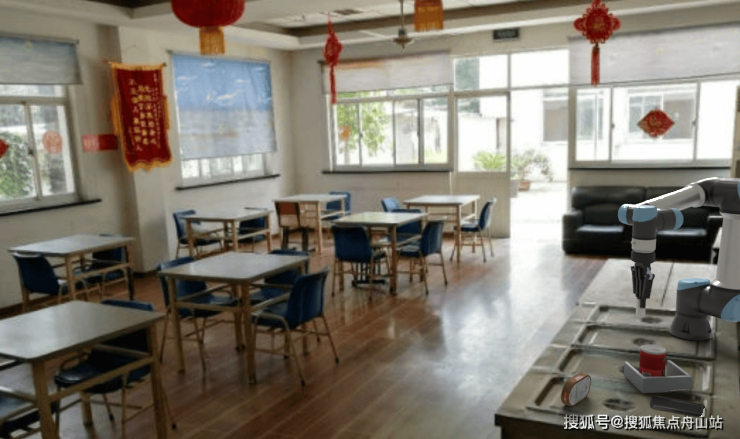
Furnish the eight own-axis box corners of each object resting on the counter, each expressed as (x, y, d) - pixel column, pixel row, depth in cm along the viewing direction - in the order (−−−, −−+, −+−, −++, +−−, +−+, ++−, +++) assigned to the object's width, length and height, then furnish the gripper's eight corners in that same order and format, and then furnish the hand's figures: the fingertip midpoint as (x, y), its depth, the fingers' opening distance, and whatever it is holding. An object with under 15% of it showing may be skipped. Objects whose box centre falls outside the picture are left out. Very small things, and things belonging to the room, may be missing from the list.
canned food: (667, 384, 197) (669, 353, 196) (641, 383, 199) (643, 352, 197) (661, 375, 205) (662, 344, 203) (636, 373, 206) (637, 343, 205)
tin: (583, 392, 194) (584, 367, 192) (592, 395, 192) (593, 370, 190) (559, 408, 184) (560, 382, 182) (569, 411, 181) (569, 385, 180)
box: (669, 373, 206) (670, 360, 205) (691, 391, 192) (692, 376, 192) (623, 375, 205) (624, 361, 205) (642, 393, 192) (643, 378, 191)
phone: (705, 415, 175) (649, 404, 182) (705, 419, 175) (649, 408, 183) (705, 404, 182) (651, 394, 189) (705, 407, 182) (651, 397, 189)
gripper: (624, 246, 211) (621, 310, 215) (641, 254, 199) (638, 322, 202) (644, 246, 212) (642, 309, 215) (663, 254, 199) (660, 321, 203)
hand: (640, 315), depth 209 cm, fingers closed
